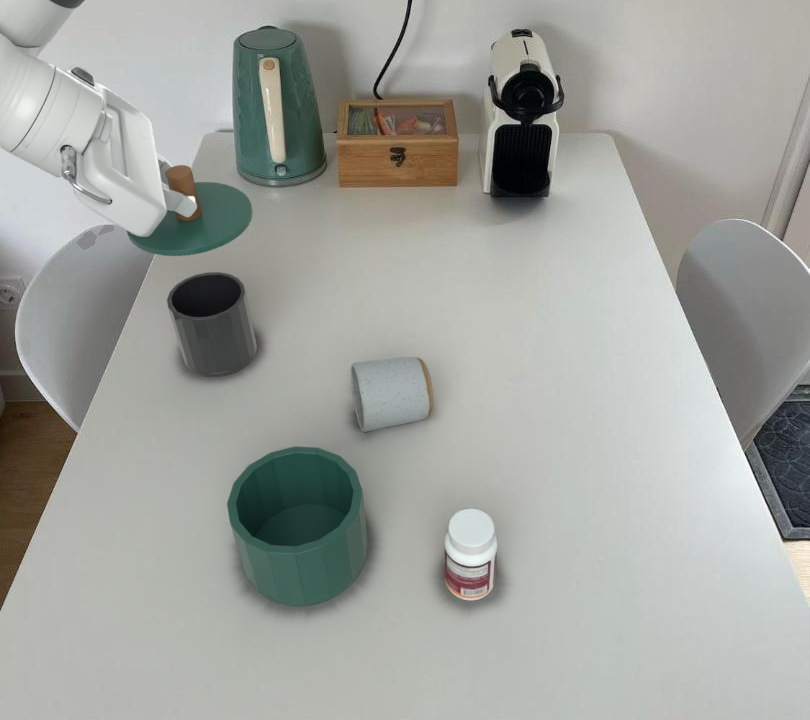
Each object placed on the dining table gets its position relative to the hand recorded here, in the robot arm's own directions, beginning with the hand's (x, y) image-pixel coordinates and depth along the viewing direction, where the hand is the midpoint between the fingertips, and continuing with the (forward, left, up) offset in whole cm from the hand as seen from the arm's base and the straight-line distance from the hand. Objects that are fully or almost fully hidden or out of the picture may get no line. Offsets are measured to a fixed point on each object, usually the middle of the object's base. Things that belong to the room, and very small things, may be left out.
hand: (191, 198), depth 83 cm
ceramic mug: (+16, -13, -23) cm, 31 cm away
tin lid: (-1, 0, -2) cm, 2 cm away
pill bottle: (+17, -37, -23) cm, 47 cm away
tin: (+3, -29, -23) cm, 38 cm away
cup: (-1, +3, -23) cm, 23 cm away
